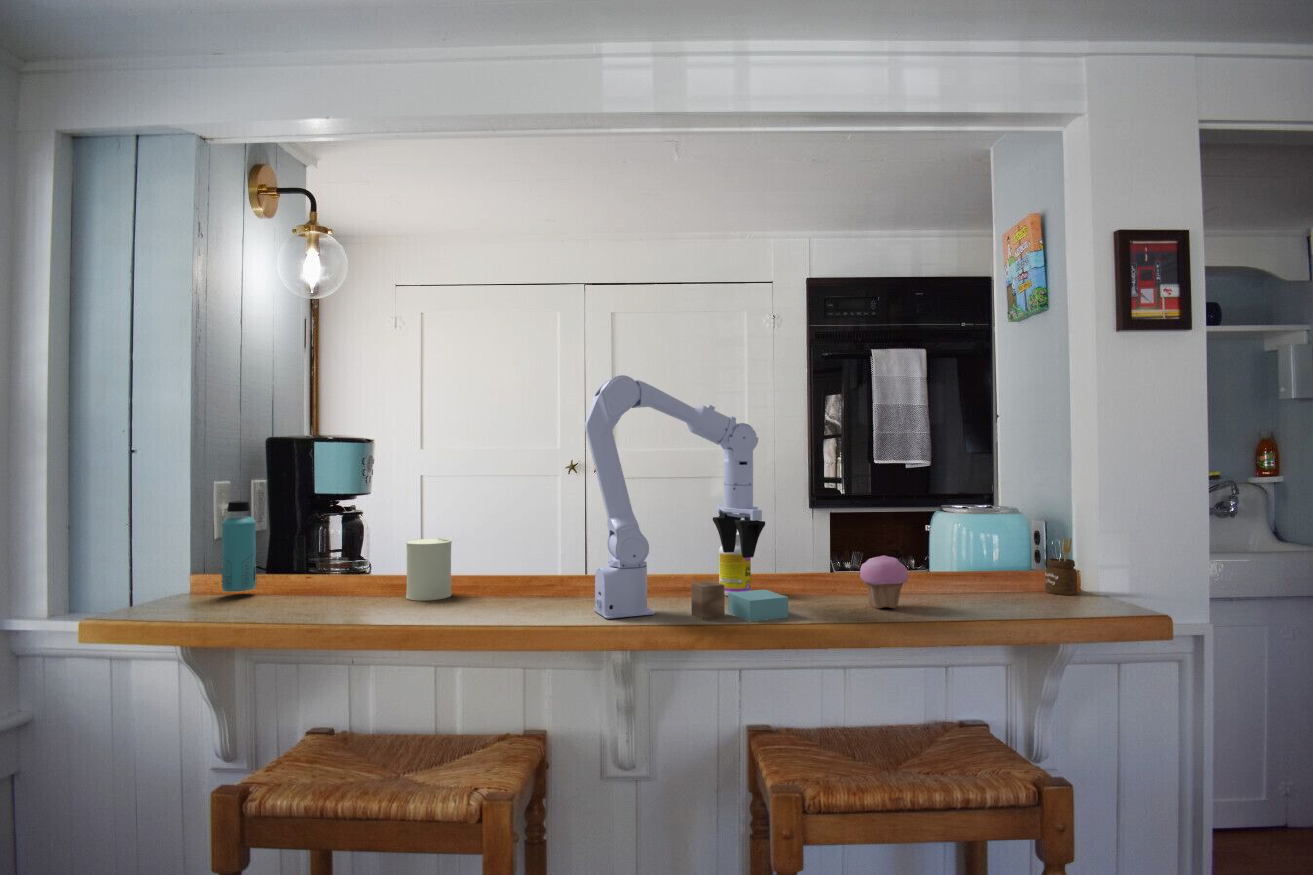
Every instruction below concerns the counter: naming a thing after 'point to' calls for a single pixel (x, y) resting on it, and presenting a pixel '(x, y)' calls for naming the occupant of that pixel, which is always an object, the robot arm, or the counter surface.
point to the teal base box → (757, 605)
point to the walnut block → (708, 600)
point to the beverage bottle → (238, 550)
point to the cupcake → (883, 580)
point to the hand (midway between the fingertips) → (738, 554)
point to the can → (428, 569)
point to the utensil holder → (1061, 573)
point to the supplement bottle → (734, 570)
